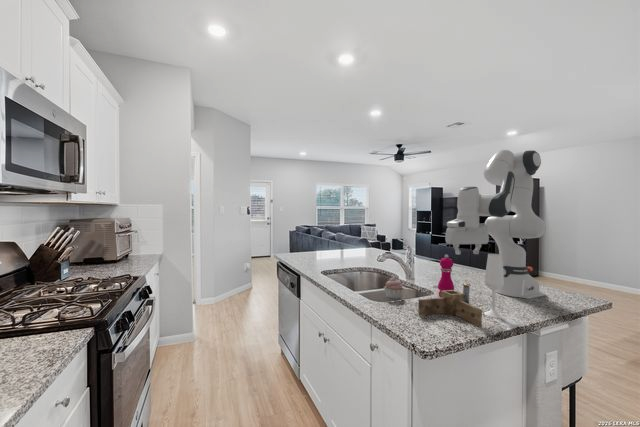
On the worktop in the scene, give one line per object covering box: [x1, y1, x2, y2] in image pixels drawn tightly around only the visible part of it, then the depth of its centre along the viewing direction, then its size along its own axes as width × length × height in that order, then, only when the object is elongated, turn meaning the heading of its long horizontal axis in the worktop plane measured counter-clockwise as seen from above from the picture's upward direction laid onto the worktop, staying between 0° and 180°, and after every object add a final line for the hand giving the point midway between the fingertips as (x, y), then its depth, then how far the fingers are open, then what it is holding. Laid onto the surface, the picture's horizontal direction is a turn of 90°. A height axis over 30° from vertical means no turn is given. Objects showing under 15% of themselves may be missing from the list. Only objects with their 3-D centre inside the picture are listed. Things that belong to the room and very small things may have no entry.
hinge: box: [417, 289, 483, 327], centre depth 111 cm, size 18×18×8 cm
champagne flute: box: [483, 253, 504, 319], centre depth 116 cm, size 7×7×24 cm
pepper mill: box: [437, 254, 455, 298], centre depth 140 cm, size 7×7×20 cm
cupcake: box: [383, 276, 405, 301], centre depth 136 cm, size 9×9×10 cm
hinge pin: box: [462, 283, 471, 304], centre depth 130 cm, size 3×3×8 cm
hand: (467, 254), depth 129 cm, fingers open, 8 cm apart
